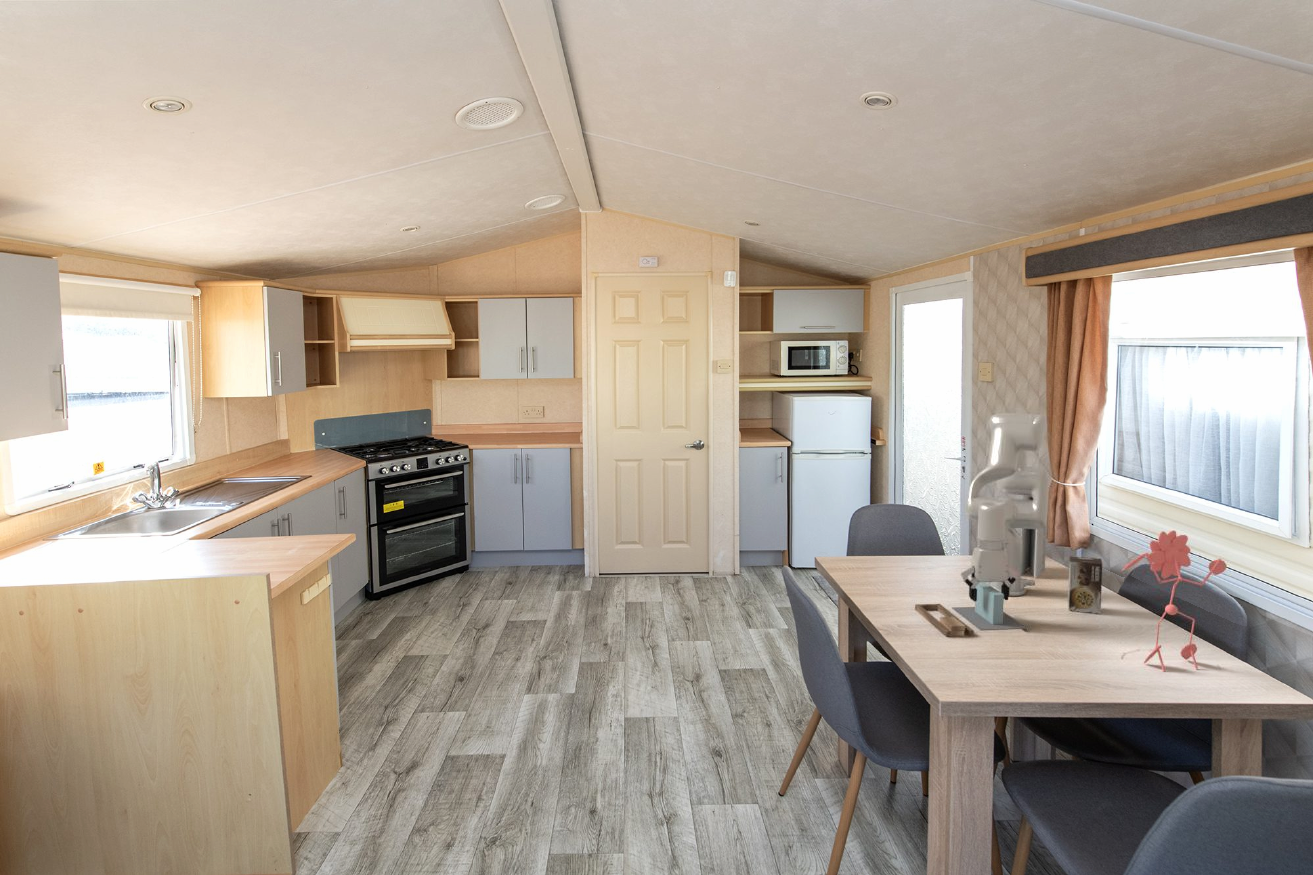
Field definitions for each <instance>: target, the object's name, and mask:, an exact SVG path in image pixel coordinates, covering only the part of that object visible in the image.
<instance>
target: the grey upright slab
mask: <svg viewBox="0 0 1313 875" xmlns="http://www.w3.org/2000/svg"><path fill="white" fill-rule="evenodd" d="M1022 499H1023V500H1033V497H1031V496H1027V495H1022ZM1047 531H1048V521H1047V522H1046V525H1045V527H1044V528H1043V529H1038V530H1037V529H1025V528H1020V537H1021V539H1022V563H1021V576H1022V575H1023V574H1024V573H1025V572H1026V571H1028V569H1029V570H1030V572H1031V574H1032V575H1033V577H1034V579H1037V578H1038V577H1039V576H1040V575H1041V574H1042V573H1043V572H1044V571H1045V570H1046V559H1047V558H1046V555H1047V533H1048V532H1047Z"/></svg>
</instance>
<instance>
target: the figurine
mask: <svg viewBox="0 0 1313 875" xmlns="http://www.w3.org/2000/svg"><path fill="white" fill-rule="evenodd" d="M1188 540H1189V536H1188V535H1186V534H1180V535H1178V536H1177V531H1176V530H1170V531H1169V532H1168V533H1166V532H1165V531H1161V532H1160V533H1159V534H1158V540H1151V541H1150V542H1149V548H1150V550H1151V552H1149V553H1148V552H1147V551H1146V552H1144V553H1143V554H1141V555H1139V556H1137V557H1135V558H1134V559H1133V560H1131V561H1130V562H1129V563H1128V564H1126V566H1124V567H1123V568H1122V570H1121V572H1125V571H1126V570H1127V569H1128V570H1129V569H1130V568H1132V567H1133V566H1134V565H1136V564H1137V563H1139V562H1140V561H1142V560H1143V558H1145V557H1146V559H1147V561H1148V563H1149V565H1150V571H1151V572H1153V573H1154V575H1155V577H1156V579H1157V582H1158V584H1165V583H1170V582H1174V581H1175V582H1174V583H1173V585H1172V586H1173V587H1172V590H1171V596H1170V601H1169V604H1167V605H1166V606H1165V608H1164V610H1165V611H1164V612H1163V614H1162V616H1161V618H1160V619H1159V621H1158V622H1157V627H1156V629H1157V630H1156V642H1155V643H1156V644H1155V647H1154V649H1153V650H1151V652H1150V654H1148V655H1147V657H1146V658H1145V660H1144V662H1143V664H1146V663H1147V662H1148V661H1149V660H1151V658H1153V657H1154V656H1155V655H1156V654H1157V655H1158V657H1159V661H1160V665H1161V666H1160V667H1161V669H1162V672H1166V668H1165V664H1164V660H1163V658H1162V655H1161V651H1160V650H1161V648H1162V645H1161V644H1158V643H1159V633H1160V624H1161V622H1162V620H1163V619H1164V617H1165V616H1166V614H1168V615H1170V616H1173V615H1174V616H1175V615H1176V614H1179V615H1181V616H1183V617H1185V618H1187V619H1189V620H1192V623H1191V624H1192V625H1191V631H1190V638H1189V643H1188V644H1186V645H1184V647H1182V649H1181V650H1180V657H1182V658H1183V659H1184V660H1186V661H1187V660H1189V659H1190V658H1192V661H1193V665H1194V668H1195V669H1196V668H1198V664H1197V660H1196V658H1195V654H1196V653H1197V651H1198V647H1197V645H1196V644H1194V643H1192V639H1193V636H1194V634H1193V633H1194V629H1195V623H1196V622H1195V621H1196V619H1195V618H1193V617H1191V616H1188V615H1187V614H1186V613H1185V614H1184V613H1182V612H1180V611H1179V609H1178V607H1177V606H1176V605H1174V604H1173V599H1174V596H1175V592H1176V591H1175V590H1176V587H1177V585H1178V584H1179V582H1183V581H1184V582H1187V583H1190V584H1194V585H1198V586H1203V585H1205V583H1206V582H1207V580H1208V579H1209V578H1210V577H1211V575H1212V574H1213V575H1214V576H1218V575H1220V574H1222V573H1224V572H1225V571H1226V569H1227V563H1226V562H1225V560H1222V559H1221V558H1217V559H1214V560H1211V562H1210V563H1209V564H1208V570H1209V572H1208V573H1207V575H1206V576H1205V578H1204V579H1203V581H1202V582H1198V581H1194V580H1190V579H1186V578H1184V577H1182V575H1181V569H1182V568H1181V567H1183V568H1184V567H1185V568H1188V567H1190V566H1191V564H1192V561H1191V558H1190V556H1189V554H1190V553H1191V548H1190V547H1189V546H1188V545H1187V542H1188ZM1157 572H1161V573H1160V574H1161V577H1162V578H1163V579H1164V580H1161V578H1160V576H1159V574H1158V573H1157ZM1170 576H1174V577H1175V578H1170ZM1177 576H1178V577H1177ZM1168 578H1170V579H1168ZM1123 656H1124V655H1121V659H1122V658H1123ZM1216 666H1217V667H1218V668H1220V666H1219V665H1218V664H1217V665H1216ZM1198 669H1199V668H1198Z"/></svg>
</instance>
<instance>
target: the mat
mask: <svg viewBox="0 0 1313 875" xmlns="http://www.w3.org/2000/svg"><path fill="white" fill-rule="evenodd" d="M951 609H952V610H954V611H955V612H956V613H957V614H959V615H960V616H962V618H964V619H965V620H967V622H969V623H971V625H973V626H974V627H975V628H976V629H978V630H979V631H992V630H993V631H999V630H1001V631H1002V630H1005V631H1006V630H1021V631H1023V632H1028V627H1026V626H1025V625H1024V624H1022V623H1020V622H1019V621H1018V620H1016V619H1015V618H1013V617H1012V616H1011V615H1009V614H1008V613H1006V612H1004V611H1003V624H991V623H990V622H989V621H987V620H986V619H985V618H983V617H982V616H981V615H979V614H978V613H977V612H975V606H964V607H963V606H962V607H961V606H957V607H954V606H953V607H951Z"/></svg>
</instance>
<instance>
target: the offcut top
mask: <svg viewBox="0 0 1313 875" xmlns="http://www.w3.org/2000/svg"><path fill="white" fill-rule="evenodd" d="M939 622H940V623H942V624H943V625H944V626H945V627H946V628H948V629H949V630H950V631H965V625H963V624H962V623H961V622H960V621H958V620H957V619H956V618H954V617H945V616H940V617H939Z"/></svg>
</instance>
